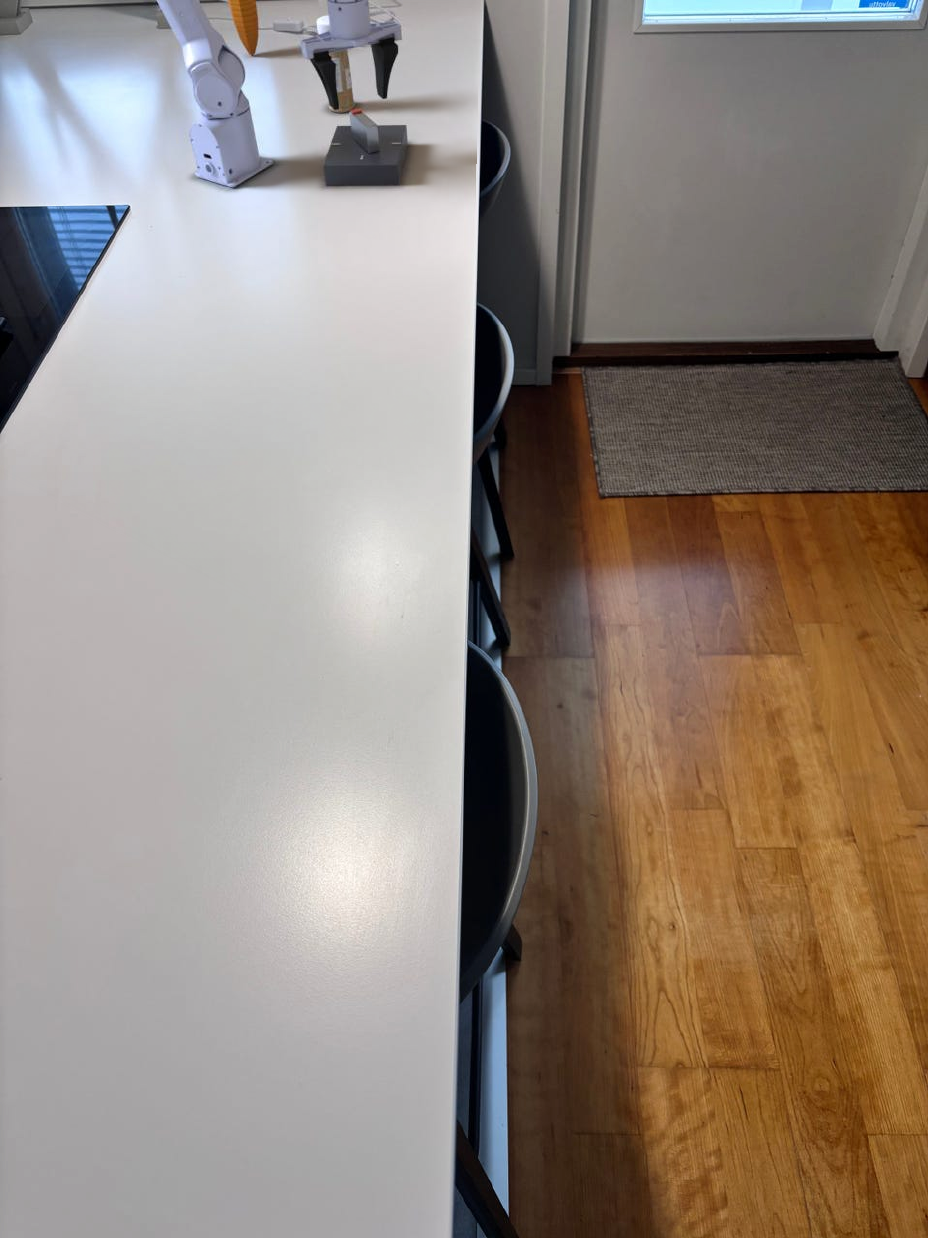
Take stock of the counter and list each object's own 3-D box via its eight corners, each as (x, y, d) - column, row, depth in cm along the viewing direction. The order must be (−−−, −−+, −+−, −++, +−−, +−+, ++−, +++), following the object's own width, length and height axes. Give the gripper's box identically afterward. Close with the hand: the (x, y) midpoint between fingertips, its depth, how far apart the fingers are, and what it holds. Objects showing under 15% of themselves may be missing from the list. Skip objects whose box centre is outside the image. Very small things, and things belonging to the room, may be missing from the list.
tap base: (398, 185, 142) (396, 163, 139) (326, 185, 143) (322, 164, 140) (407, 144, 151) (406, 123, 148) (339, 144, 152) (336, 124, 149)
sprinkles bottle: (360, 107, 161) (350, 17, 151) (339, 115, 159) (328, 25, 149) (343, 100, 163) (332, 11, 153) (322, 108, 161) (310, 18, 151)
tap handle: (380, 150, 143) (377, 122, 140) (369, 153, 142) (365, 125, 139) (362, 134, 147) (359, 107, 143) (352, 137, 146) (348, 109, 143)
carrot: (263, 60, 177) (246, -35, 165) (237, 61, 177) (218, -34, 165) (267, 50, 180) (250, -44, 168) (241, 51, 180) (223, -43, 169)
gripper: (307, 14, 126) (322, 121, 136) (407, -6, 130) (414, 100, 140) (289, -1, 130) (305, 104, 140) (386, -20, 134) (395, 84, 144)
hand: (358, 101), depth 140 cm, fingers open, 7 cm apart
